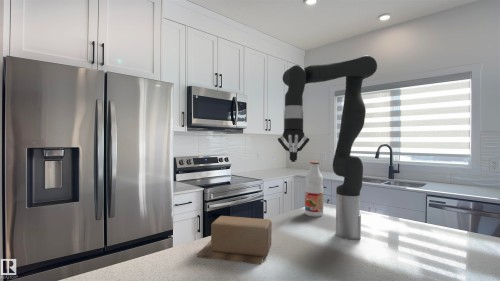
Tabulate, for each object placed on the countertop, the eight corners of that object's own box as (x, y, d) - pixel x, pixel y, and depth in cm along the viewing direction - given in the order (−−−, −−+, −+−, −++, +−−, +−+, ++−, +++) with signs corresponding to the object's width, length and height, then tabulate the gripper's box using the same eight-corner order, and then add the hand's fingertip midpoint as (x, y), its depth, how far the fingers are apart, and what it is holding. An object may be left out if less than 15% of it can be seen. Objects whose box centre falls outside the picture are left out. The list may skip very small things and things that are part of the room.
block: (267, 227, 85) (210, 223, 90) (267, 258, 85) (210, 252, 90) (272, 218, 95) (219, 214, 99) (271, 246, 95) (219, 241, 99)
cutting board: (268, 244, 98) (268, 242, 98) (261, 264, 83) (261, 261, 83) (213, 239, 103) (213, 237, 103) (196, 256, 88) (196, 254, 88)
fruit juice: (326, 216, 135) (326, 162, 135) (309, 217, 133) (309, 162, 133) (318, 211, 144) (318, 160, 144) (302, 212, 142) (302, 161, 142)
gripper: (310, 118, 105) (310, 161, 105) (278, 118, 108) (277, 160, 108) (310, 116, 98) (310, 163, 98) (275, 117, 101) (275, 162, 101)
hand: (293, 161), depth 103 cm, fingers closed
